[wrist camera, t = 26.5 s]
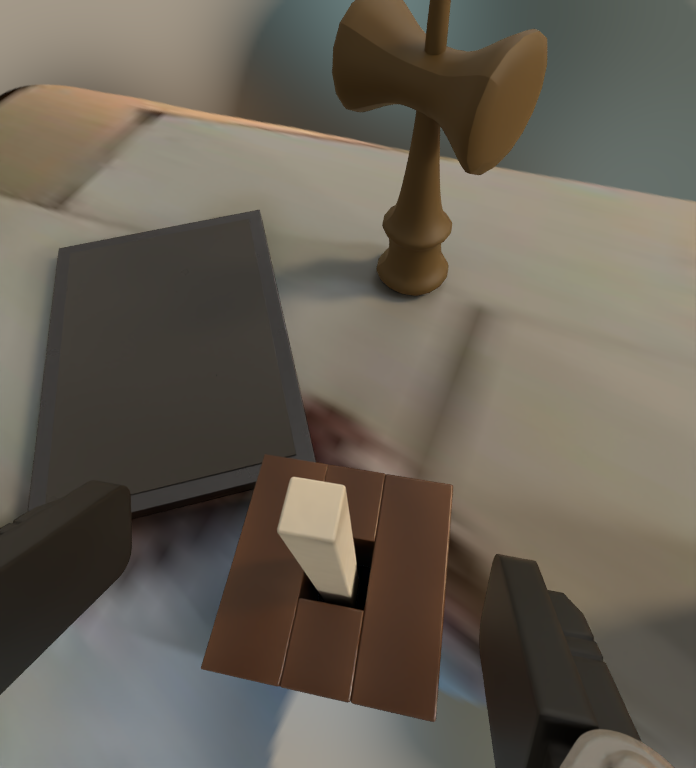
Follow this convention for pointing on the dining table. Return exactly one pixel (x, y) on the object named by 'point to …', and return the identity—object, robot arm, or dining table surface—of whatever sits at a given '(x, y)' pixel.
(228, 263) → the tablet
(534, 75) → the kendama
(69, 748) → the dining table surface
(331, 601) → the stylus
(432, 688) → the pen stand
